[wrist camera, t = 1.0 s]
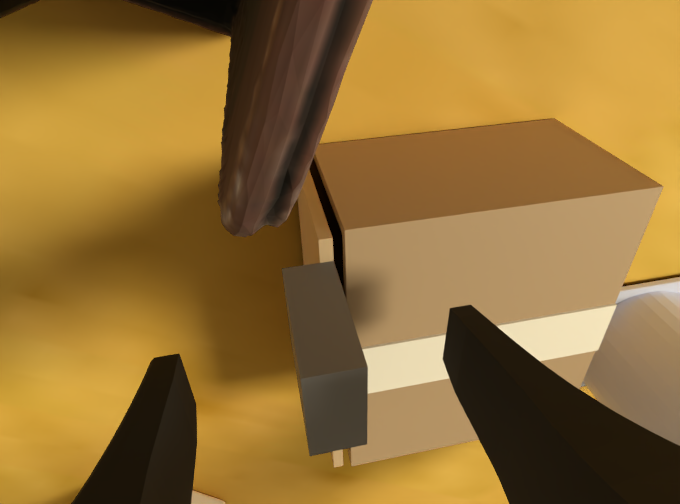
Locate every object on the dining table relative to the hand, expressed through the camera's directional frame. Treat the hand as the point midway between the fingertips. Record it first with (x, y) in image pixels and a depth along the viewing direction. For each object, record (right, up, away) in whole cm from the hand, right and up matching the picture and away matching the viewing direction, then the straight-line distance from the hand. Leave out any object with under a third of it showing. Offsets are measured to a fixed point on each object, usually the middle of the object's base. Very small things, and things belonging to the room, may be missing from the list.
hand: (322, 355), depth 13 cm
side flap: (-1, +2, +8) cm, 9 cm away
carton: (+5, +3, +9) cm, 11 cm away
